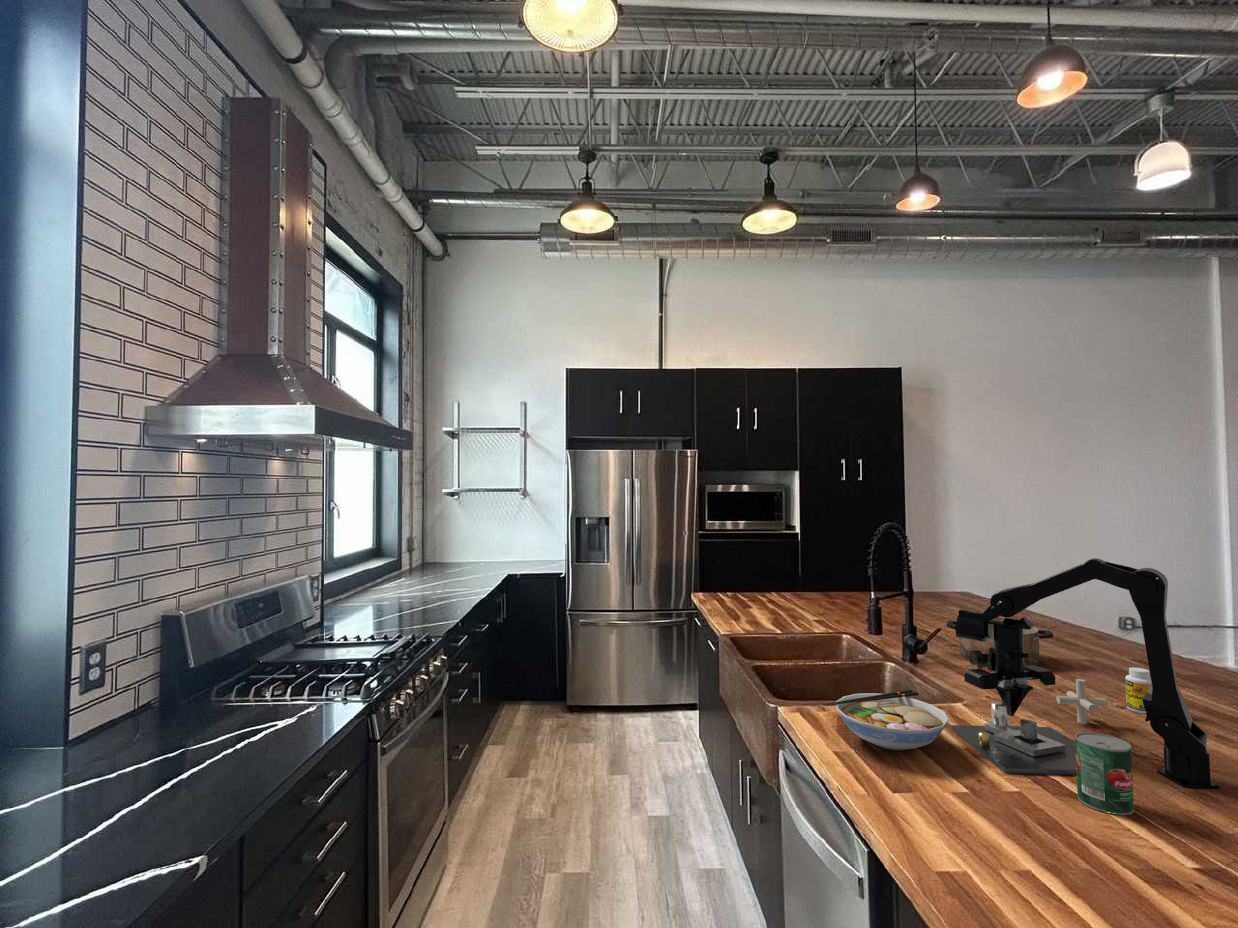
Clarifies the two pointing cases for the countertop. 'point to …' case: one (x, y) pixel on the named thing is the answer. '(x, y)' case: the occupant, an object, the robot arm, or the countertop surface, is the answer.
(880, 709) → the ramen bowl
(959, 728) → the post base
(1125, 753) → the canned tomato
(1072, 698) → the pipe connector
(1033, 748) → the metal knob latch
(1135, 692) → the supplement bottle
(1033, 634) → the cooking pot
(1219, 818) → the countertop surface
